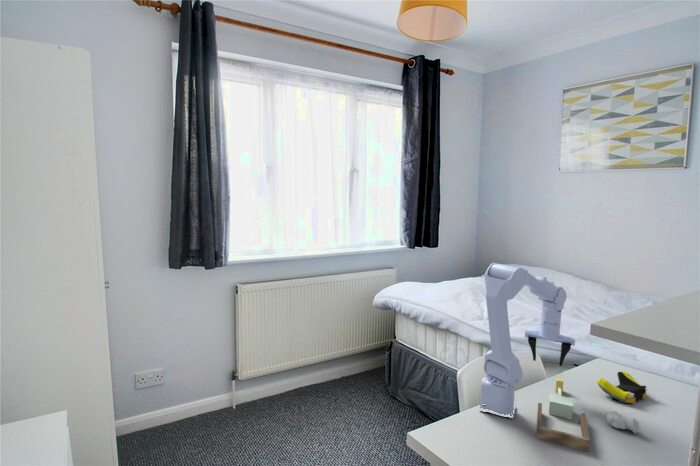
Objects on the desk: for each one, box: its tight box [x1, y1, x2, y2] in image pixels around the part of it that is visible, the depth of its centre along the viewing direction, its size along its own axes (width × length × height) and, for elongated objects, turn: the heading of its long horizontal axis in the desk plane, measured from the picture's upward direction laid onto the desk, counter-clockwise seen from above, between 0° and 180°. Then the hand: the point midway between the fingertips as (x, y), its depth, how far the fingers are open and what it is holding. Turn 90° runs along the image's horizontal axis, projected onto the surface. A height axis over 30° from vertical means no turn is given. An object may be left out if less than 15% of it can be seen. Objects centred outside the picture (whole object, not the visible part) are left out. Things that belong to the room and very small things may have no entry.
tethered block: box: [548, 377, 574, 420], centre depth 123 cm, size 6×18×4 cm, turn 153°
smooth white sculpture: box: [605, 410, 640, 435], centre depth 110 cm, size 4×8×5 cm
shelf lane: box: [535, 402, 590, 452], centre depth 109 cm, size 12×14×3 cm
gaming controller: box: [597, 370, 649, 404], centre depth 128 cm, size 15×6×10 cm
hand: (547, 362), depth 129 cm, fingers open, 7 cm apart
